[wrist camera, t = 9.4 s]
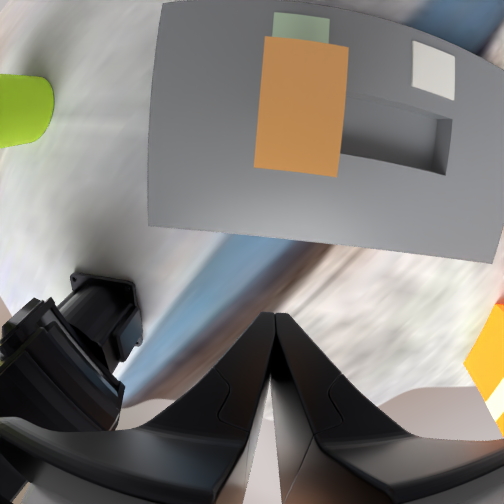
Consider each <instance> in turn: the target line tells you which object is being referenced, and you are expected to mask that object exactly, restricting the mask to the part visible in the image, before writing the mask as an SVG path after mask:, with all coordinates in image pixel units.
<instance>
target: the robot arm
mask: <svg viewBox="0 0 504 504" xmlns="http://www.w3.org/2000/svg"><path fill="white" fill-rule="evenodd" d="M75 278H76V279H75ZM70 281H71V286H72V290H73V292H72V293H71V294H70V295H69V296H68V297H67V298H65V299H64V300H63V301H62V302H61V303H60V304H59V305H58V306H57V307H56V305H55V302H54V300H53V299H52V298H51V297H50V298H49V299H47V300H46V301H45V302H44V300H42V301H40V300H38V299H36V298H33V299H32V300H31V301H30V302H29V303H27V304H26V305H25V306H24V307H23V308H22V309H21V310H19V311H18V312H17V313H16V314H15V315H14V316H13V317H12V318H11V319H10V320H9V321H7V322H6V323H5V324H4V325H3V326H2V338H1V339H0V504H13V503H12V501H13V500H14V499H15V498H16V496H17V495H18V494H19V492H20V491H21V490H22V489H23V487H24V486H25V485H26V484H27V482H28V481H29V482H30V485H29V487H28V489H27V491H26V493H25V495H24V497H23V499H22V502H21V504H242V503H243V500H244V496H245V492H246V488H247V483H248V479H249V475H250V471H251V467H252V462H253V458H254V454H255V449H256V445H257V440H258V436H259V431H260V426H261V422H262V417H263V412H264V407H265V403H266V398H267V393H268V388H269V382H270V383H271V395H272V405H273V415H274V425H275V436H276V446H277V456H278V467H279V478H280V489H281V500H282V504H504V439H499V440H492V441H463V440H445V439H433V438H423V437H419V436H416V435H413V434H411V433H409V432H408V431H406V430H405V429H403V428H402V427H401V426H399V425H398V424H397V423H396V422H395V421H393V420H392V419H391V418H390V417H389V416H387V415H386V414H385V413H384V412H382V411H381V410H380V409H379V408H378V407H377V406H375V405H374V404H373V403H372V402H371V401H370V400H369V399H367V398H366V397H365V396H364V395H363V394H362V393H361V392H360V391H359V390H358V389H357V388H356V387H355V386H354V385H353V384H352V383H351V382H350V381H349V380H348V379H347V378H346V377H345V376H344V375H343V374H342V373H341V371H340V370H339V369H338V368H337V367H336V366H335V365H334V364H333V363H332V361H331V360H330V359H329V358H328V357H327V356H326V355H325V354H324V353H323V352H322V350H321V349H320V348H319V347H318V346H317V345H316V344H315V343H314V342H313V340H312V339H311V338H310V337H309V336H308V335H307V334H306V333H305V332H304V330H303V329H302V328H301V327H300V326H299V325H298V324H297V323H296V322H295V320H294V319H293V318H292V317H291V316H290V315H289V314H288V313H275V314H274V313H273V312H261V313H260V314H259V315H258V316H257V317H256V318H255V320H254V321H253V322H252V323H251V324H250V325H249V327H248V328H247V329H246V330H245V331H244V332H243V333H242V335H241V336H240V337H239V338H238V339H237V340H236V341H235V343H234V344H233V345H232V346H231V347H230V348H229V349H228V350H227V352H226V353H225V354H224V355H223V356H222V357H221V358H220V359H219V360H218V362H217V363H216V364H215V365H214V366H213V368H211V369H210V370H209V371H208V372H207V373H206V375H205V376H204V377H203V378H202V379H201V380H200V381H199V382H198V383H197V384H196V385H195V386H193V387H192V388H191V389H190V390H189V391H187V392H186V393H185V394H184V395H183V396H181V397H180V398H179V399H178V400H176V401H175V402H174V403H172V404H171V405H170V406H168V407H167V408H166V409H165V410H163V411H162V412H161V413H160V414H158V415H157V416H155V417H154V418H153V419H151V420H150V421H148V422H147V423H145V424H143V425H141V426H139V427H136V428H132V429H126V430H115V429H116V427H117V425H118V421H119V415H120V411H121V405H122V400H123V395H124V390H125V385H124V384H123V383H122V382H121V381H118V380H117V379H116V378H115V377H114V376H113V375H112V373H113V372H114V370H115V368H116V367H117V365H118V363H119V362H124V361H126V359H127V358H128V356H129V354H130V352H131V351H132V349H133V347H134V346H138V347H139V346H140V345H141V344H142V342H143V340H142V332H143V330H142V323H141V316H140V309H139V308H138V306H137V299H136V291H135V286H134V284H133V283H132V282H130V281H125V280H119V279H112V278H106V277H100V276H94V275H89V274H83V273H77V272H74V273H73V274H71V275H70ZM127 286H128V287H129V288H130V289H128V288H127ZM137 341H138V342H137Z"/></svg>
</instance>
